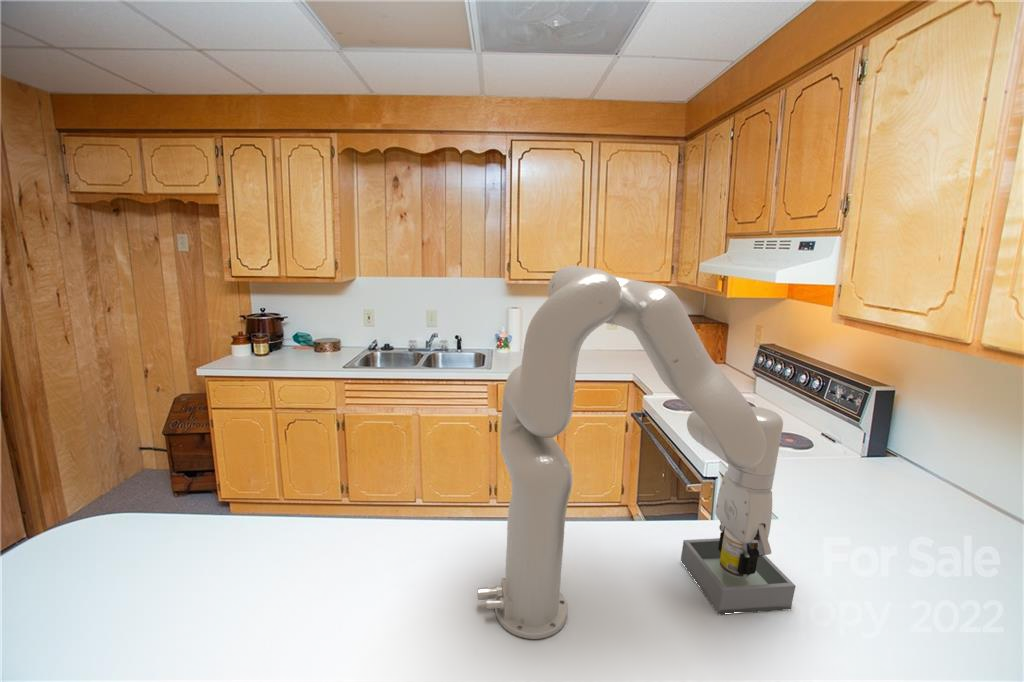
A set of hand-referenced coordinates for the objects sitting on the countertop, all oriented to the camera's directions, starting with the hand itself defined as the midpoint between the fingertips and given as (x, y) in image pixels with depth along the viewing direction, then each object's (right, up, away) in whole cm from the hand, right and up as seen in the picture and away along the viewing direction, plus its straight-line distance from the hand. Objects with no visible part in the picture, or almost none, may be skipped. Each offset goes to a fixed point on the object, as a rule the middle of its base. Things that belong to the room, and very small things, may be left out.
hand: (735, 560), depth 89 cm
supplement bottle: (0, -2, 0) cm, 2 cm away
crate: (0, -5, +1) cm, 5 cm away
